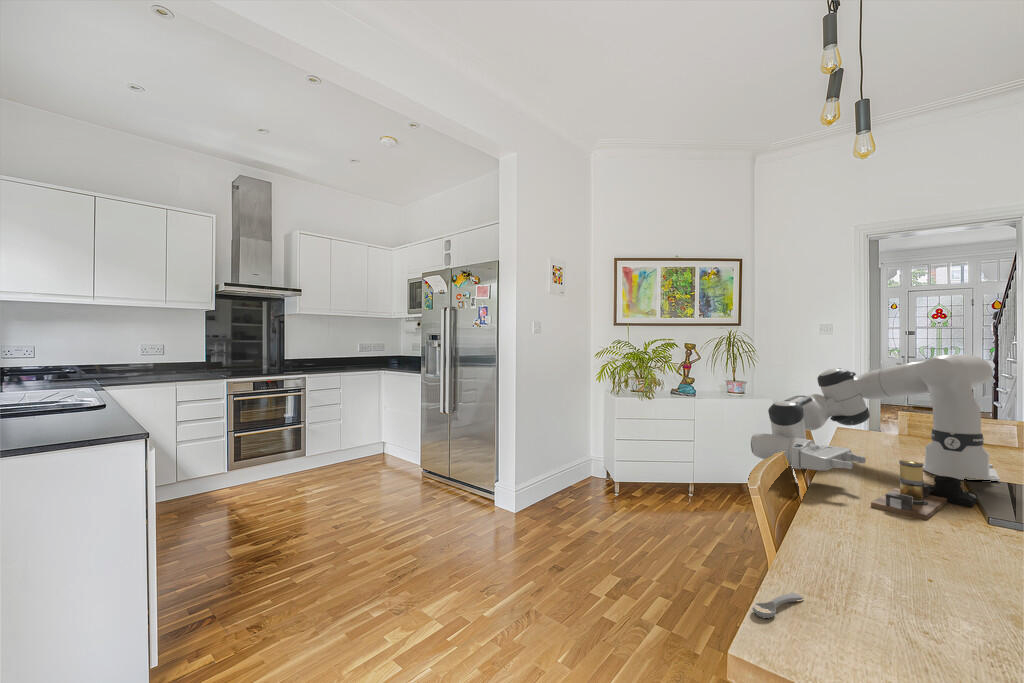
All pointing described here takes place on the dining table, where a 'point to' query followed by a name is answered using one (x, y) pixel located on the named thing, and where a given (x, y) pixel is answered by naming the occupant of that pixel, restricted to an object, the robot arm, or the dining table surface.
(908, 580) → the dining table surface
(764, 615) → the grey bottle opener
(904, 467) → the yellow and grey cylinder
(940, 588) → the dining table surface
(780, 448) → the robot arm
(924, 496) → the board
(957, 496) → the film camera
